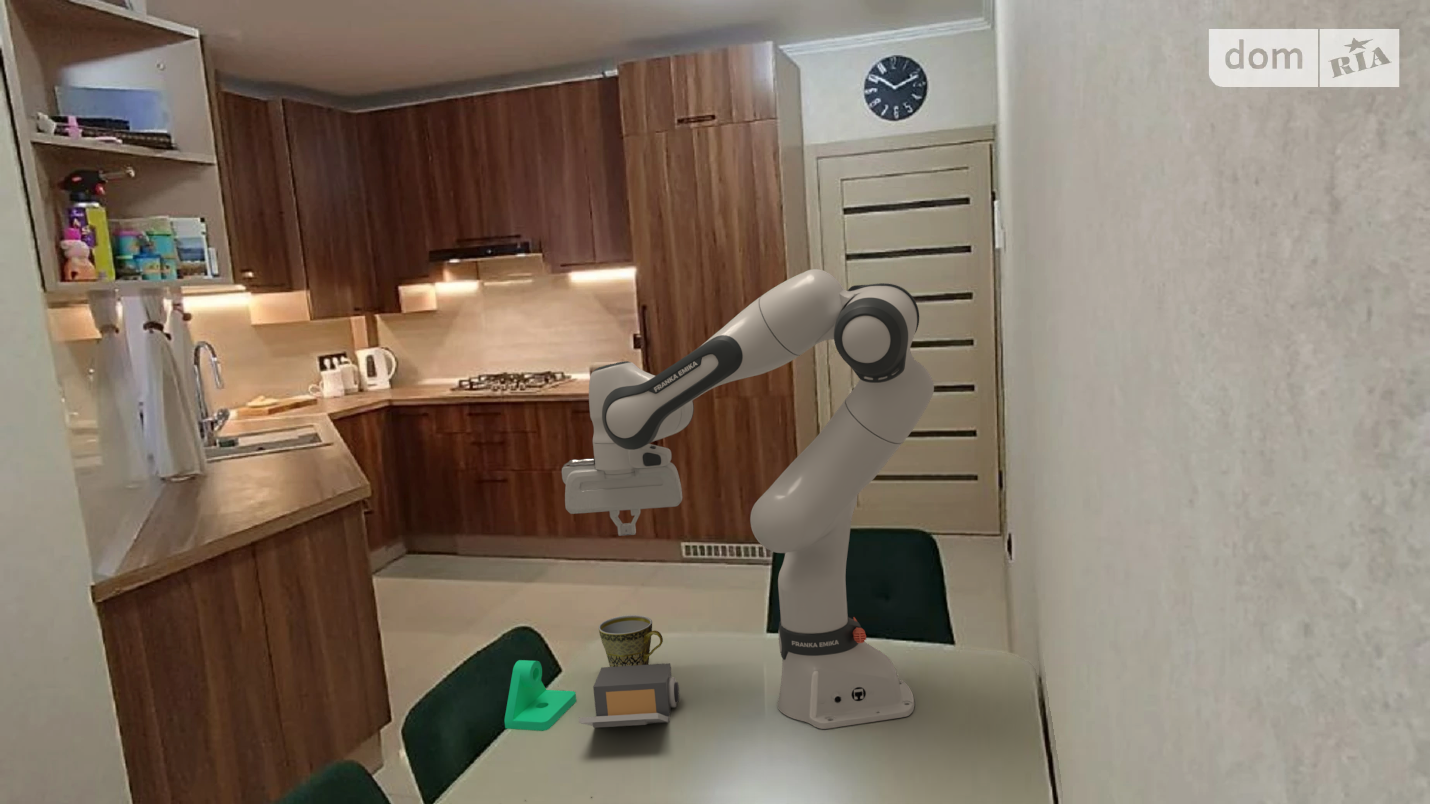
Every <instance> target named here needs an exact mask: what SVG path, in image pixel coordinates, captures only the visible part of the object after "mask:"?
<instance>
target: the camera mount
mask: <svg viewBox="0 0 1430 804" xmlns="http://www.w3.org/2000/svg"><path fill="white" fill-rule="evenodd" d="M542 677H543V667H542V663H541V662H540V661H538V660H527V659H526V660H525V659H523V660H522V659H519V660H517V661H516V662H515V664H513V668H512V674H511V680H510V686H509V691H508V697H507V704H506V708H505V709H506V710H505V715H504V729H505V730H506V729H508V730H509V729H510V730H523V731H527V730H528V731H537V732H539V731H540V732H544V731H548V730H550V729H551V728H552V727H553V725H555V724H556V722H557V721H558V720H560V718H562V716H563V715H564V714H566V712H568V711H569V710H570V708H572V707H573V706H574V704H575V703H577V695H576V694H577V693H576V691H574V690H573V691H572V690H562V689H560V690H559V689H558V690H557V689H556V690H555V689H547V688H546V687H545V685H544V683H543V680H542Z"/></svg>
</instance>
